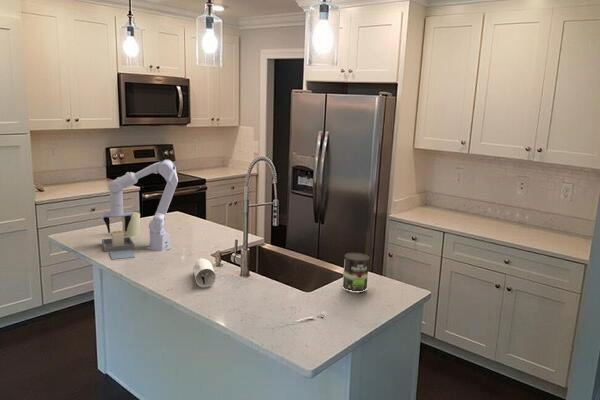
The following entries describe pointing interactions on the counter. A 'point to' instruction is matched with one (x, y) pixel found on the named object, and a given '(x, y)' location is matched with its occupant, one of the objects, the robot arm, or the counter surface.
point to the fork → (311, 317)
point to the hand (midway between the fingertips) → (117, 231)
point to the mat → (121, 255)
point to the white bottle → (204, 272)
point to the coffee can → (355, 271)
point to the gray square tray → (127, 246)
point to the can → (132, 225)
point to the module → (117, 238)
